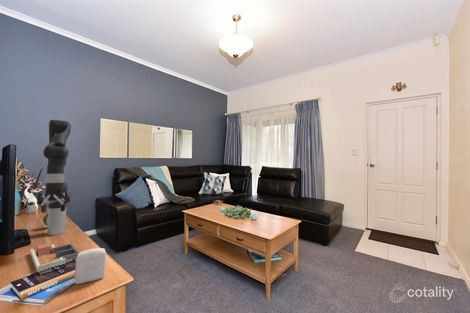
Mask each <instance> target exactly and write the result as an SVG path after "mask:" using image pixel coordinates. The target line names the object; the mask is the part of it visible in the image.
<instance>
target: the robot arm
mask: <svg viewBox="0 0 470 313" xmlns="http://www.w3.org/2000/svg"><path fill="white" fill-rule="evenodd" d="M71 127H72V125H71V122H70V121H67V120H58V119H50V120H49V122H48V140H49V142H48V144H47V146H45V148H44V149H43V151H42V152H43V156H44V158H46V159H47V166H46V177H45V186H44V187H45V193H43V192H40V193H38V194H37V199H36V205H37V206H40V212H41V213H42V214H45V213H48V226H47V227H48V228H47V227H46V228H47V229H46V231H47V233H46V235H47V236H57V235H62V234H65V233H66V231H67V230H66V227H67V204H69V203H70V202H71V194H70V193H71V192H70V191H69V190H68V187H69V186H68V183H66V182H64V181H65V175H64V172H65V171H64V170H65V166H66V164H67V158H68V156H69V149H68V147H66V144H67V140H68V138H69V136H70V134H71V130H72V128H71ZM49 202H50V203H49ZM47 204H48V208H47ZM47 210H48V211H47Z"/></svg>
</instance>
